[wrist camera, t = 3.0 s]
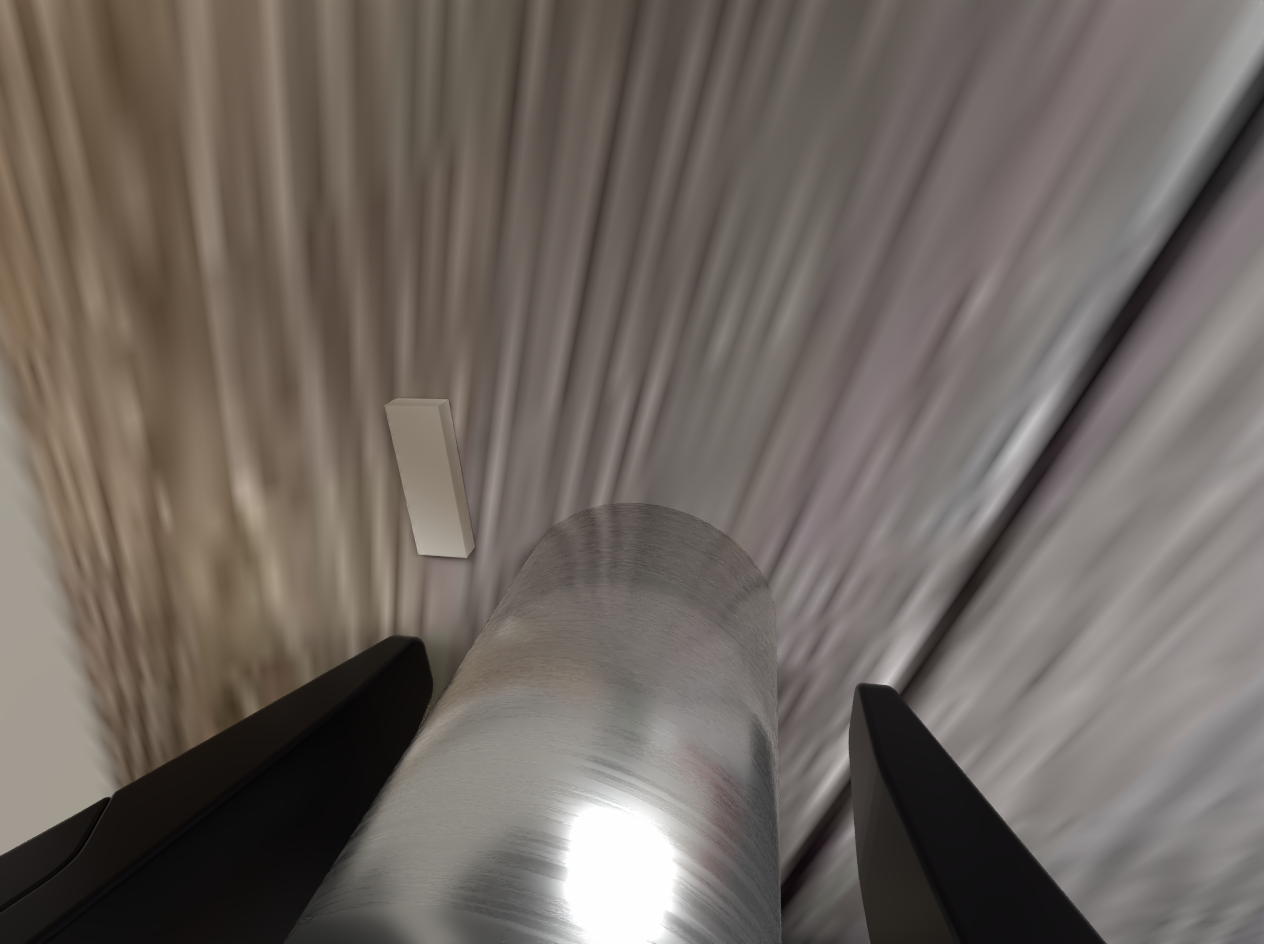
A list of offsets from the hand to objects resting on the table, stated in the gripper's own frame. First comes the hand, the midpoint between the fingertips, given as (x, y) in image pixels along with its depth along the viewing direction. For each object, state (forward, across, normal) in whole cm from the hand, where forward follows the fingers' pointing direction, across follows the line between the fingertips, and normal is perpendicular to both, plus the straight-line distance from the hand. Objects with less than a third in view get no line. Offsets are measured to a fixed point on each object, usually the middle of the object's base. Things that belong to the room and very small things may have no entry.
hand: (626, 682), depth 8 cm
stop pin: (+1, 0, 0) cm, 1 cm away
